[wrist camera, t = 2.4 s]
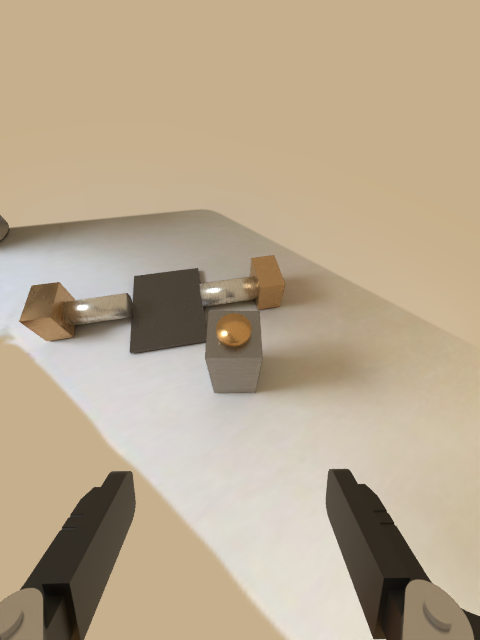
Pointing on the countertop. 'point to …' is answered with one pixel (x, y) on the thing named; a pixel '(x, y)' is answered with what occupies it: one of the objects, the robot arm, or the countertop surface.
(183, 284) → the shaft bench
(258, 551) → the countertop surface
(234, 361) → the gold-capped grey pillar
